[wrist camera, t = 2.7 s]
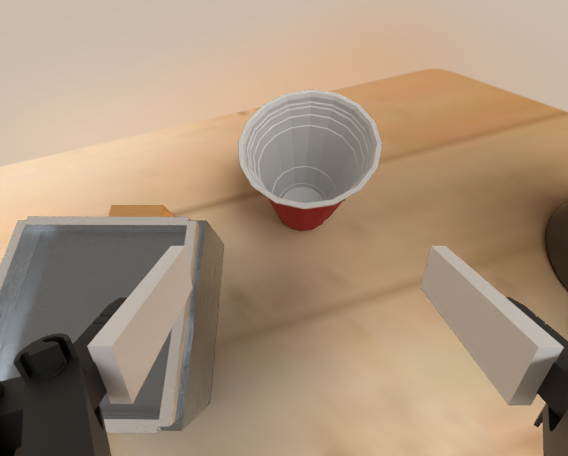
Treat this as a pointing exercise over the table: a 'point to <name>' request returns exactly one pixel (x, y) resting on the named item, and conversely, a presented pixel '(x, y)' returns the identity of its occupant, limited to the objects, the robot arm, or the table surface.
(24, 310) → the square tray with tab
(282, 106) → the plastic cup
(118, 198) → the table surface
